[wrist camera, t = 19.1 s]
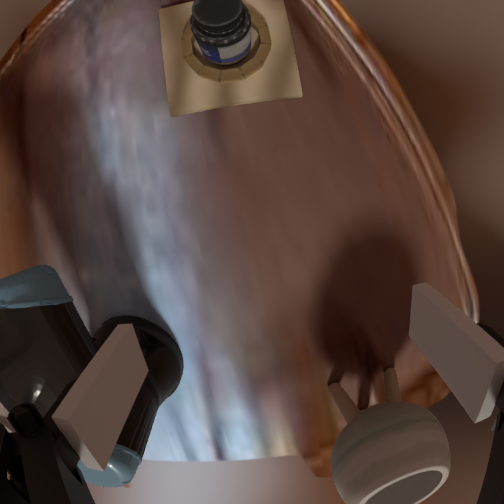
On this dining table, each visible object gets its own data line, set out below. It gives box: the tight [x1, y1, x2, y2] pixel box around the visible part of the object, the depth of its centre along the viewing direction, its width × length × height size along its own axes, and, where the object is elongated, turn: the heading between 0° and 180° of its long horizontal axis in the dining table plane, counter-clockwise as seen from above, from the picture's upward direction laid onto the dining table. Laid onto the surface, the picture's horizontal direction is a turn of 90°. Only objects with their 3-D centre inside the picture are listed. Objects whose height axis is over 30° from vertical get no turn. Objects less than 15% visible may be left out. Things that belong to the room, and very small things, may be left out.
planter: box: [328, 368, 450, 504], centre depth 36 cm, size 16×16×22 cm
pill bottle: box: [190, 0, 251, 66], centre depth 27 cm, size 6×6×11 cm
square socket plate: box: [159, 0, 303, 117], centre depth 32 cm, size 16×16×3 cm
